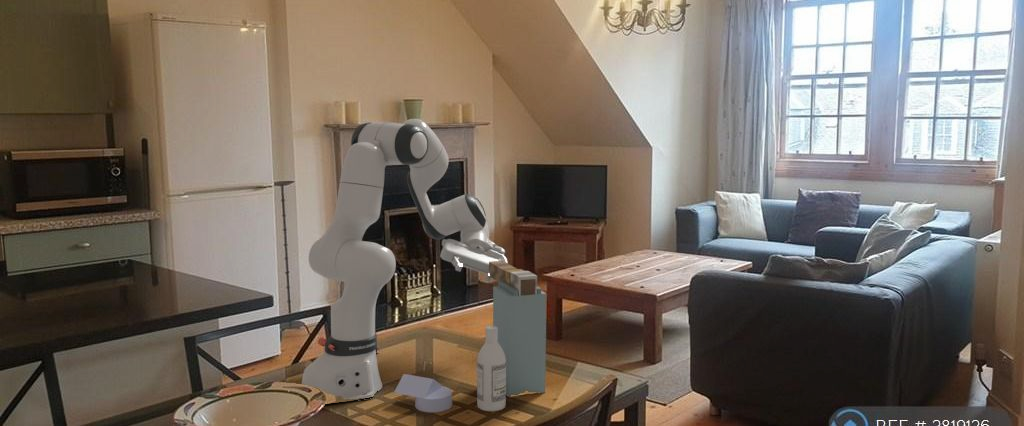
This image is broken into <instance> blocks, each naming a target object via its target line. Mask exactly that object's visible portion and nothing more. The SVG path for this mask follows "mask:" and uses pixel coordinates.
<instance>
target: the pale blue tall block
mask: <svg viewBox="0 0 1024 426" xmlns="http://www.w3.org/2000/svg"><path fill="white" fill-rule="evenodd" d="M492 293H493V294H492V301H493V302H492V307H493V308H492V326H496V327H497V328H498V343H499V345H500V346H501V348H502V349H503V351H504V354H505V358H506V396H507V395H508V396H511V395H518V394H520V393H524V392H525V391H528V392H540V393H539V394H544V393H546V371H547V370H546V369H547V367H546V358H547V357H546V356H547V352H546V350H547V347H546V345H547V292H544V291H542V288H541V287H539V286H538V285H537V294H536V295H524V296H518V290H517V289H515V288H513V287H512V286H510V285H509V284H507V283H505V282H504V281H502V280H499V281H497V285H494V286H492ZM508 396H507V397H508Z"/></svg>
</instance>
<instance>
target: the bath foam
mask: <svg viewBox="0 0 1024 426" xmlns="http://www.w3.org/2000/svg"><path fill="white" fill-rule="evenodd" d="M476 375H477V376H476V379H477V380H476V387H477V388H476V389H477V390H476V398H477V402H476V405H477V408H478V409H479V410H481V411H484V412H490V413H491V412H498V411H502V410H503V409H504V408H505V407H506V402H507V401H506V400H507V397H506V396H507V395H506V358H505V354H504V351H503V349H502V348H501V346H500V345H499V343H498V328H497V327H496V326H493V325H488V326H486V327H485V342H484V344H483V345H482V346H481V347H480V350H479V352H478V355H477V359H476Z"/></svg>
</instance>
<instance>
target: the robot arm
mask: <svg viewBox="0 0 1024 426" xmlns="http://www.w3.org/2000/svg"><path fill="white" fill-rule="evenodd" d="M345 154H346V155H345V158H344V160H343V164H342V168H341V173H340V179H339V186H338V191H337V192H338V193H337V199H336V204H335V205H336V206H335V208H334V209H335V210H334V214H333V217H332V219H331V221H330V224H329V226H328V228H327V230H325V232H324V233H323V235H321V237H320V238H318V239H317V240H316V241H315V242H313V244H312V246H311V247H310V250H309V253H308V264H309V267H310V268H311V270H312V271H313V272H314V273H316V274H318V275H319V276H321V277H324V278H326V279H328V280H334V281H339V282H343V292H342V294H341V297H339V298H338V299H336V300H335V301H334V302H333V304H332V305H331V307H330V324H331V325H330V331H331V332H330V336H329V338H327V339H326V338H324V337H323V336H322V337H318V339H317V344H318V345H319V346H321V347H324V351H323V352H322V353H321V354H320V355H318V357H317V358H316V359H314V360H313V361H312V362H311V363H310V364H308V366H307V367H305V368H304V370H303V375H302V379H301V385H302V384H305V385H308V386H312V387H315V388H319V389H321V390H322V391H324V392H325V393H328V394H332V395H336V396H341V397H342V398H343V399H359V398H369V397H373V396H374V397H375V395H374V394H376V393H377V391H378V392H380V391H381V389H382V388H383V383H382V380H381V377H380V371H379V368H378V367H379V366H378V358H377V354H376V353H377V346H378V335H377V333H376V304H377V300H378V298H379V295H380V292H381V290H382V289H383V287H384V286H385V285H386V284H388V283H389V282H390V281H391V279H393V276H394V274H395V272H396V266H397V265H396V264H397V262H396V257H395V255H394V253H393V251H392V250H391V249H390V248H388V247H386V246H383V245H381V244H379V243H378V242H373V241H365V240H363V237H364V235H365V233H366V231H367V229H369V227H370V226H371V225H373V224H374V223H376V222H377V221H378V220H379V218H380V215H381V210H382V200H383V194H384V193H383V192H384V188H385V187H384V186H385V174H386V173H385V172H386V171H385V168H386V167H387V166H388V165H391V166H392V165H393V166H394V165H398V166H399V165H405V166H409V169H410V171H408V173H407V175H406V180H407V186H408V189H409V193H410V195H411V198H412V200H413V202H414V204H415V207H416V210H417V212H418V215H419V217H420V220H421V222H422V226H423V229H424V232H425V233H426V235H427V236H428V237H429V238H430V239H434V240H438V241H440V240H441V246H442V249H441V251H440V255H439V256H440V258H441V259H442V260H444V261H446V262H448V263H451V265H452V266H453V267H454V268H455V271H456V272H461V271H462V269H463V268H466V269H469V270H472V271H475V272H478V273H480V274H481V273H482V274H484V275H486V277H485V281H486V282H489V283H491V282H493V280H494V279H493V278H492V277H490V276H489V262H492V261H504V262H506V263H508V264H509V262H508V258H507V257H506V256H505V254H506V250H505V249H504V248H503V247H501V246H499V245H498V244H496V243H494V242H493V241H491V239H490V229H489V224H488V221H487V215H486V211H485V209H484V206H483V204H482V203H481V201H480V200H479V198H477V197H475V196H473V195H472V194H470V193H469V194H468V193H465V194H463V195H460V196H458V197H455V198H452V199H450V200H448V201H445V202H443V203H440V204H437V205H433V204H432V203H431V201H430V199H429V196H428V194H427V192H428V190H429V189H431V187H433V185H435V184H436V183H437V182H439V181H440V180H441V178H443V177H444V175H445V173H446V172H447V171H448V170H447V169H448V167H449V163H450V161H449V155H448V153H447V151H446V148H445V147H444V145H443V143H442V142H441V140H440V138H439V137H438V135H436V133H435V132H434V130H432V128H431V127H430V126H429V125H428V124H427V123H426V122H425V121H423V120H422V119H419V118H410V119H406V120H404V121H403V122H402V123H398V122H392V121H379V122H374V121H373V122H372V121H369V122H365V123H362V124H359V125H358V126H357V127H356V128H355V129H354V131H353V133H352V136H351V141H350V146H349V148H348V150H347V152H346V153H345ZM457 232H460V241H458V240H456V239H452V238H446V237H449V236H450V235H452V234H455V233H457ZM374 397H373V398H374Z"/></svg>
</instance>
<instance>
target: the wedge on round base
mask: <svg viewBox="0 0 1024 426" xmlns="http://www.w3.org/2000/svg"><path fill="white" fill-rule="evenodd" d="M393 393H394V394H399V395H404V396H409V397H414V406H415V408H416V409H417V411H420V412H424V413H440V412H445V411H447V410H450V409H451V408H452V406H453V390H452V389H451V388H449V387H447V386H443V385H442V384H441V383H440V382H438V381H437V380H436V379H434V378H429V377H424V376H418V375H414V374H406V373H404V374H402V376H401V378H400V380H399V382H398V384H397V386H396V388H395V390H394V392H393Z"/></svg>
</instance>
